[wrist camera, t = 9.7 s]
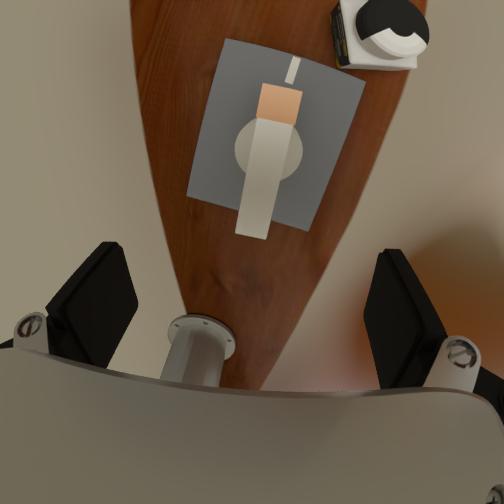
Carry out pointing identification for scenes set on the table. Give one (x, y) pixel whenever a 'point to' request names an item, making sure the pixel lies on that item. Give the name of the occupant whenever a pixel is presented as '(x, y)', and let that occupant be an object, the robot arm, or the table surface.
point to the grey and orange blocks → (267, 156)
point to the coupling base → (307, 125)
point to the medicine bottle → (378, 34)
